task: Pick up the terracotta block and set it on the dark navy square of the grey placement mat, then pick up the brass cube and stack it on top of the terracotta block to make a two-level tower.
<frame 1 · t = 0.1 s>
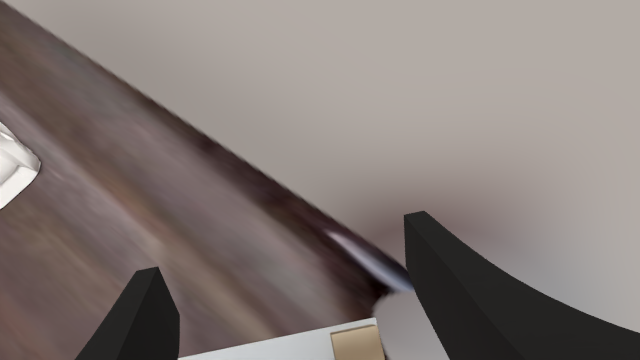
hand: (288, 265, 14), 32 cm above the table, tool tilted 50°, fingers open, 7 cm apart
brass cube: (355, 350, 43), resting on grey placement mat
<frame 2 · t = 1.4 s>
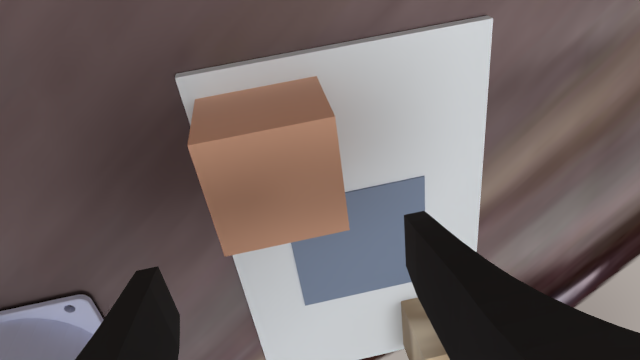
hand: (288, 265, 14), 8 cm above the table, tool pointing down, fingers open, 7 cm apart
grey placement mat: (357, 231, 24), on the table
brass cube: (433, 316, 28), resting on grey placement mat
terracotta block: (268, 141, 20), resting on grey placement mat
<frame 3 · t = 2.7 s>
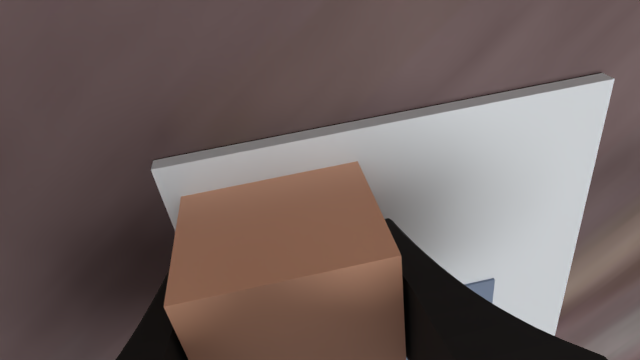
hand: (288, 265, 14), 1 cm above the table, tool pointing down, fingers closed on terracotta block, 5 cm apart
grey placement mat: (398, 340, 18), on the table
terracotta block: (285, 245, 14), resting on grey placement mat, touching gripper
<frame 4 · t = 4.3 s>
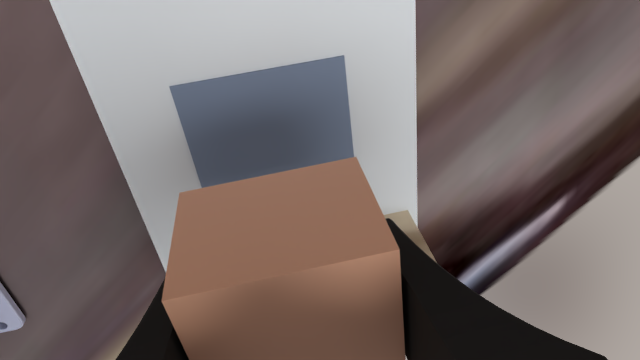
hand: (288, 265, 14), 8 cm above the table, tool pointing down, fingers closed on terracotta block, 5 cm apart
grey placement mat: (270, 131, 20), on the table
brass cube: (371, 247, 24), resting on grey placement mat
terracotta block: (284, 241, 14), point 7 cm above the table, touching gripper
when the fingers open (2 cm above the table, at t = 6.0 s): terracotta block stays where it is, resting on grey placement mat.
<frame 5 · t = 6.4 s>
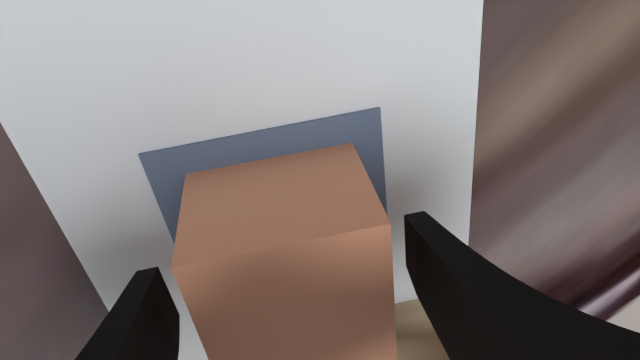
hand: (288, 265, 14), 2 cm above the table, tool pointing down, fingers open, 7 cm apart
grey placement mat: (278, 203, 15), on the table
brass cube: (406, 333, 19), resting on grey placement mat
terracotta block: (283, 223, 15), point 1 cm above the table, touching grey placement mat
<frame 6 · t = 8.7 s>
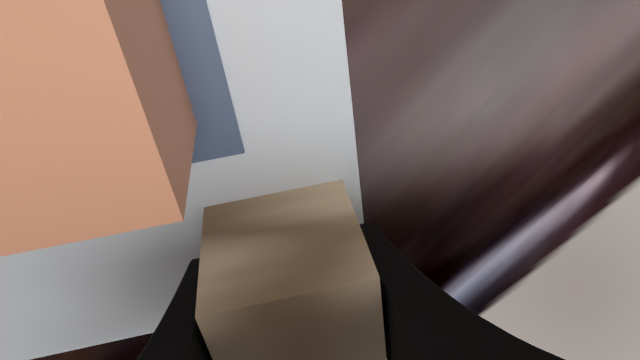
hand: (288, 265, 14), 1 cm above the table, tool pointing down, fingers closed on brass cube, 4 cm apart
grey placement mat: (49, 16, 10), on the table
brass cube: (285, 245, 14), resting on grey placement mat, touching gripper
terracotta block: (51, 42, 10), point 1 cm above the table, touching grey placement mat
when the fingers open (6 cm above the table, at t = 11.5 s): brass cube stays where it is, resting on terracotta block.
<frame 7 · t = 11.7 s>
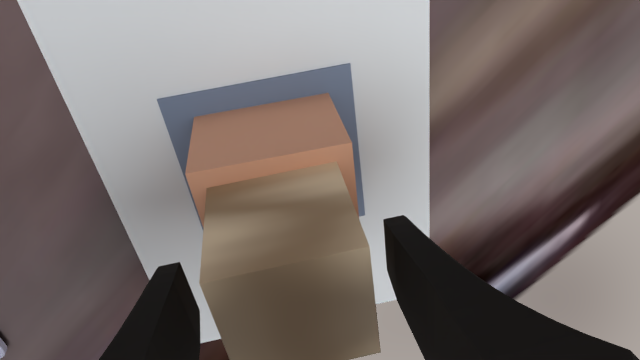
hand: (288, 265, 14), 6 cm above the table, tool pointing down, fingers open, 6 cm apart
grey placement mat: (269, 146, 19), on the table
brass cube: (284, 225, 15), point 5 cm above the table, touching terracotta block
terracotta block: (273, 162, 18), point 1 cm above the table, touching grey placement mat, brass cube
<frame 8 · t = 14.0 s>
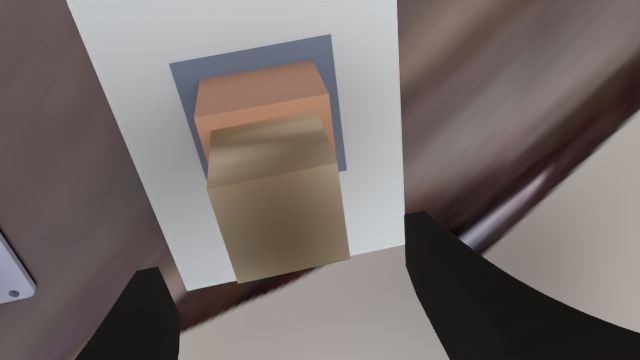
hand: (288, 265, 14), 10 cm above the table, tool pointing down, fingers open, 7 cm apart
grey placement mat: (263, 107, 22), on the table
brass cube: (274, 165, 18), point 5 cm above the table, touching terracotta block
terracotta block: (267, 120, 22), point 1 cm above the table, touching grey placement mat, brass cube
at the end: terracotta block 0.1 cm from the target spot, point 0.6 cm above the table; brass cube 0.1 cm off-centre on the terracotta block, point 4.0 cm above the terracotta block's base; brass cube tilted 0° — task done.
